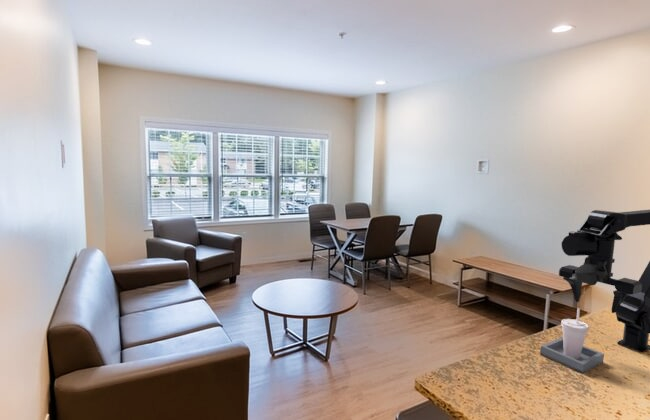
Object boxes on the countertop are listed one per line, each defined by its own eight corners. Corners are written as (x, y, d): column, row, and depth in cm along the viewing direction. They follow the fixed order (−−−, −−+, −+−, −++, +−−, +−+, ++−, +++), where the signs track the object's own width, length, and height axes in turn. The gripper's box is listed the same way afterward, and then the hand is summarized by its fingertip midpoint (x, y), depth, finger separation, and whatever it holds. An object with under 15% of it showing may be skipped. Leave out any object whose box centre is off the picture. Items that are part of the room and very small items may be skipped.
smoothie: (590, 363, 99) (595, 314, 97) (563, 360, 100) (568, 312, 98) (579, 351, 105) (583, 305, 103) (554, 349, 106) (558, 303, 104)
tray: (561, 345, 110) (562, 337, 110) (603, 362, 100) (604, 353, 100) (540, 354, 105) (540, 345, 104) (582, 373, 95) (583, 364, 95)
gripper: (550, 250, 108) (546, 301, 110) (626, 266, 92) (619, 325, 94) (571, 247, 113) (566, 295, 115) (646, 261, 97) (639, 316, 99)
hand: (594, 307), depth 106 cm, fingers open, 9 cm apart
